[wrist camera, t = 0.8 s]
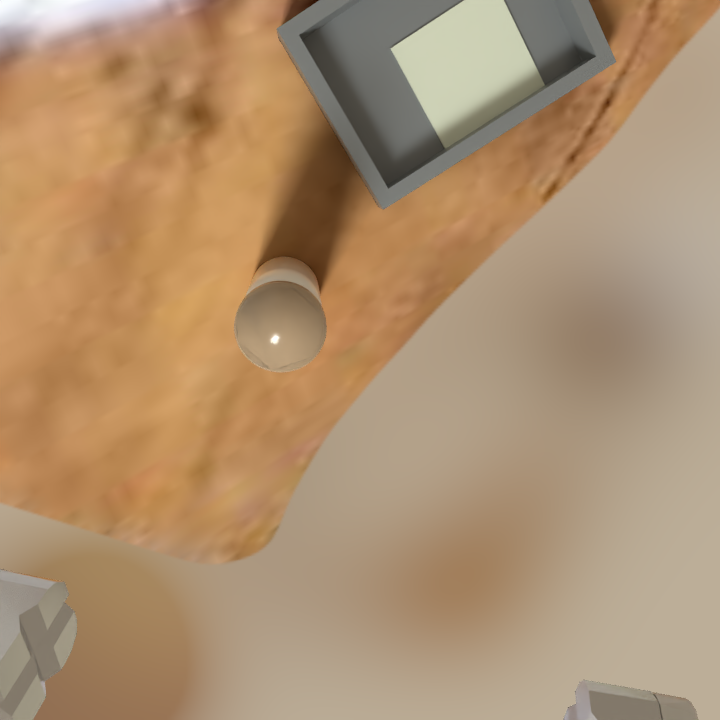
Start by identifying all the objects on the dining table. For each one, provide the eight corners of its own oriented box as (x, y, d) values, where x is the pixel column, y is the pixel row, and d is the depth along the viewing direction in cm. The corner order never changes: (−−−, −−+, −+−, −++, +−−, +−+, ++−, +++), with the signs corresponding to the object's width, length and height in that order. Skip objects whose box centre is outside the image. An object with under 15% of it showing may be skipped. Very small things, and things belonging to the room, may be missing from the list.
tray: (278, 37, 45) (276, 28, 42) (511, -119, 44) (526, -139, 41) (378, 206, 49) (383, 209, 46) (596, 68, 47) (616, 61, 44)
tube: (235, 279, 49) (215, 314, 38) (295, 241, 49) (294, 265, 37) (274, 337, 51) (267, 388, 39) (333, 301, 50) (343, 341, 39)
